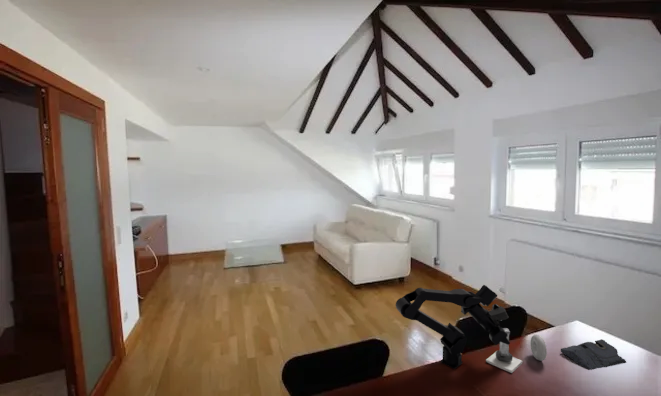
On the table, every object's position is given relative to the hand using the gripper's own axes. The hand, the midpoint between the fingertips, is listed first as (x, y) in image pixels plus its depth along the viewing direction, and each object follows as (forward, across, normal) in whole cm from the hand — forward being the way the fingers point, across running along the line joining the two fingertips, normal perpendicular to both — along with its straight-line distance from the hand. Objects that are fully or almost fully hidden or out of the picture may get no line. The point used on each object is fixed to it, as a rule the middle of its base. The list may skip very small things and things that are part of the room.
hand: (508, 342), depth 133 cm
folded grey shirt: (+32, +10, -19) cm, 38 cm away
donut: (+16, +5, -3) cm, 17 cm away
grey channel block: (+4, 0, +6) cm, 7 cm away
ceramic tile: (+5, 0, +7) cm, 9 cm away
